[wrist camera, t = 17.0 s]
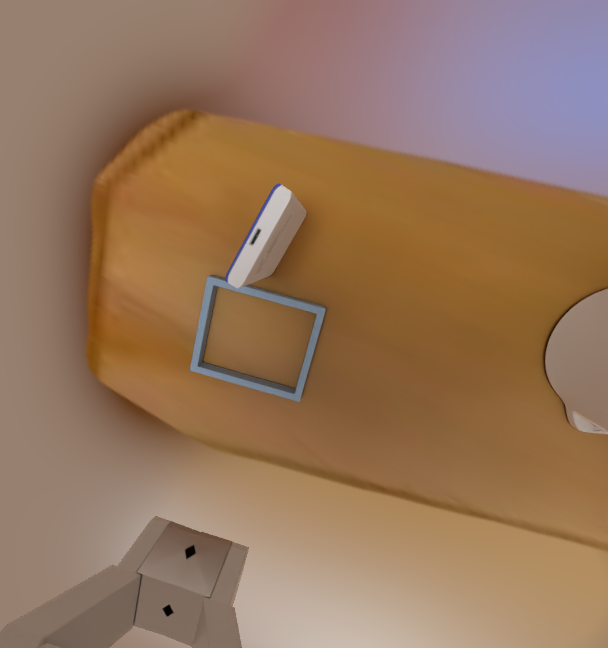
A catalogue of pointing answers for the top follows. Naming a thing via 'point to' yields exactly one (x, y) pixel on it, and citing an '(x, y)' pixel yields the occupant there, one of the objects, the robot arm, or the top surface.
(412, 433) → the top surface
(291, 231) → the hard drive
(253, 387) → the frame
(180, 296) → the top surface
